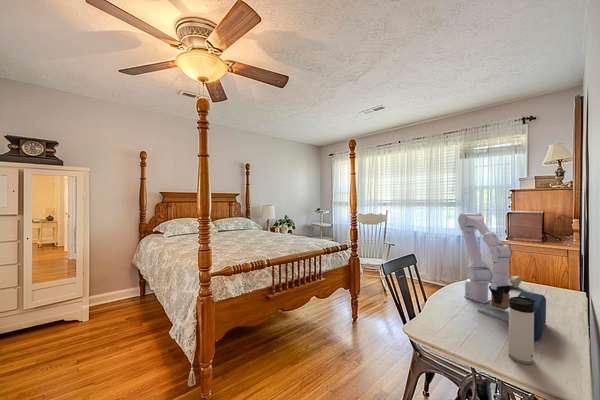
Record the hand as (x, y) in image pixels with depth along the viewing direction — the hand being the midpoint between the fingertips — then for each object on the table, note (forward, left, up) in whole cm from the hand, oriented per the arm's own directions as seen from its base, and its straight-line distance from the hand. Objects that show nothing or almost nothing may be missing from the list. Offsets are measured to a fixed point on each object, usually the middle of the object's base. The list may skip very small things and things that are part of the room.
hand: (500, 301), depth 118 cm
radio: (+12, -7, -5) cm, 15 cm away
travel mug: (+18, -32, -5) cm, 37 cm away
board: (0, 0, -5) cm, 5 cm away
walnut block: (0, 0, -2) cm, 2 cm away
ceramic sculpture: (-13, +40, -5) cm, 43 cm away
